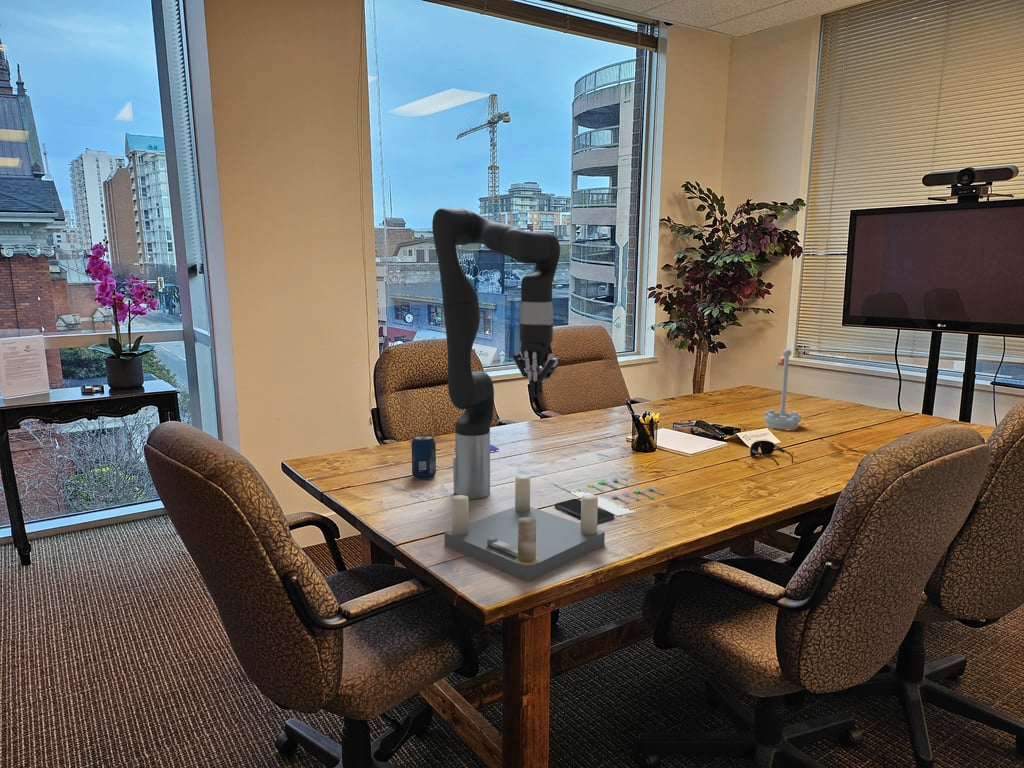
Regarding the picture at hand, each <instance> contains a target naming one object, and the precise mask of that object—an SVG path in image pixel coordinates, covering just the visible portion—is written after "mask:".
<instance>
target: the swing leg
mask: <svg viewBox="0 0 1024 768" xmlns="http://www.w3.org/2000/svg"><path fill="white" fill-rule="evenodd" d="M487 545H489V546H493V547H495V548H497V549H500V550H502V551H505V552H507V553H509V554H512V555H514V556H516V557H518V560H520V561H522V562H532V561H534V560H536V519H534V518H530V517H524V518H520V519H519V520H518V548H516V547H514V546H511V545H509V544H506V543H504V542H502V541H499V540H498V539H497V538H495V537H490V538H487Z"/></svg>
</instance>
